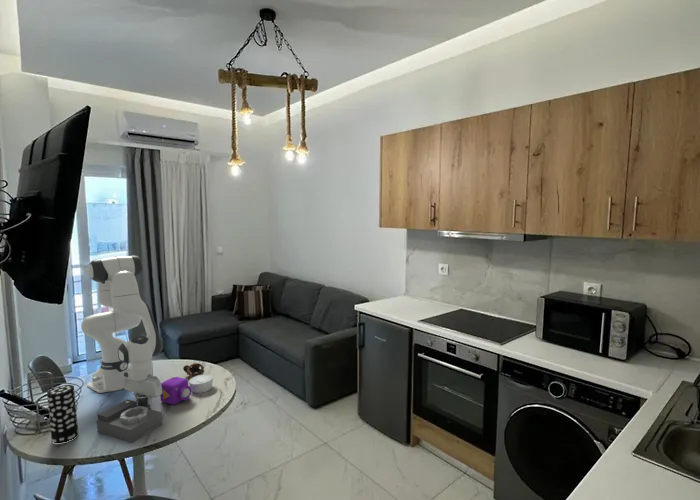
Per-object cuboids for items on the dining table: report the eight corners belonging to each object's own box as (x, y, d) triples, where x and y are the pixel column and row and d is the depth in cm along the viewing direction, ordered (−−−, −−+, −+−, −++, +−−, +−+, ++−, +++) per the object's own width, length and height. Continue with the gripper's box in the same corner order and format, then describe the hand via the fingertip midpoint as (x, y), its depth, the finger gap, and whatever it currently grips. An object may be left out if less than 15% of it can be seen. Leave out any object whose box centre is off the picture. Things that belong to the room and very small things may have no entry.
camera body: (97, 431, 151) (96, 413, 151) (129, 413, 164) (128, 397, 163) (131, 442, 144) (130, 423, 143) (162, 423, 156) (161, 406, 156)
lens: (135, 409, 167) (134, 394, 166) (145, 404, 171) (144, 389, 170) (143, 412, 165) (142, 396, 164) (153, 406, 169) (152, 391, 168)
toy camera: (183, 407, 169) (182, 386, 168) (157, 404, 172) (155, 384, 171) (197, 396, 180) (196, 376, 179) (172, 393, 183) (171, 374, 182)
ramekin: (185, 394, 181) (185, 384, 181) (194, 384, 192) (194, 374, 192) (209, 394, 182) (208, 383, 181) (216, 383, 193) (216, 374, 192)
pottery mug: (208, 373, 207) (207, 363, 202) (199, 387, 199) (198, 377, 194) (187, 367, 207) (186, 357, 203) (178, 381, 200) (176, 371, 195)
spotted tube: (48, 447, 141) (43, 396, 139) (55, 435, 149) (51, 387, 147) (75, 441, 145) (70, 392, 143) (80, 430, 152) (76, 383, 150)
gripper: (164, 374, 165) (166, 403, 166) (132, 366, 173) (134, 395, 174) (152, 380, 159) (154, 410, 161) (119, 372, 167) (122, 401, 169)
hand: (143, 402), depth 168 cm, fingers closed on lens, 5 cm apart
